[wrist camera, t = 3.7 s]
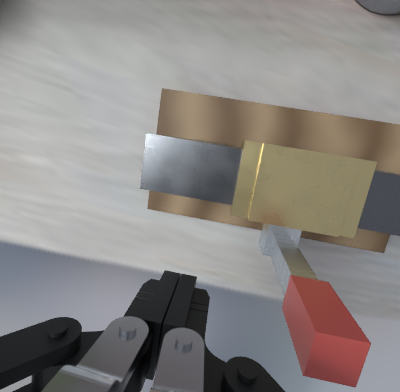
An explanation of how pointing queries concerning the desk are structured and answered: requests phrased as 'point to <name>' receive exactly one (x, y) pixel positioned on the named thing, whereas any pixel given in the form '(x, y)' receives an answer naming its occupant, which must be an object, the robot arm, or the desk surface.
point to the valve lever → (314, 313)
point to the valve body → (277, 184)
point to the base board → (276, 135)
